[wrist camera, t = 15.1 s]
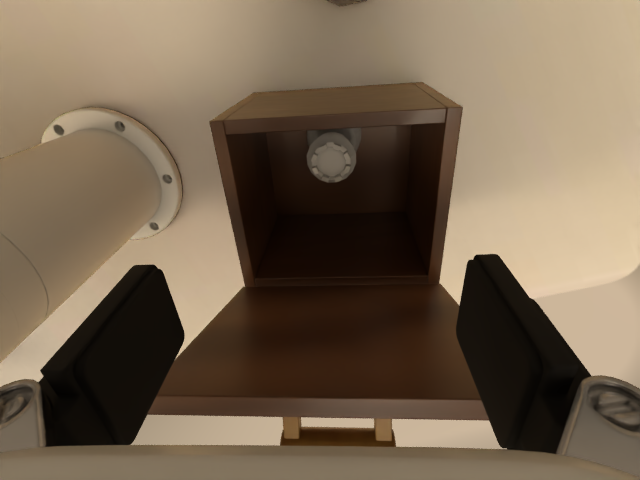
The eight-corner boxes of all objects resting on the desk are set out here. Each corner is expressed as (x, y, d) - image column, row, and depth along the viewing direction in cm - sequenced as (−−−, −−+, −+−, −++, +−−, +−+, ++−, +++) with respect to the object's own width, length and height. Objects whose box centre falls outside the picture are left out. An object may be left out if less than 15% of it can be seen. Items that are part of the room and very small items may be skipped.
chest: (252, 92, 28) (208, 121, 19) (422, 81, 27) (463, 106, 18) (271, 219, 34) (245, 287, 25) (412, 214, 33) (439, 285, 24)
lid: (141, 395, 12) (160, 526, 13) (540, 400, 11) (529, 542, 12) (243, 286, 25) (249, 359, 26) (440, 283, 23) (439, 360, 24)
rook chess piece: (354, 98, 27) (358, 119, 21) (366, 152, 30) (372, 188, 23) (300, 112, 28) (286, 138, 21) (315, 164, 30) (306, 202, 24)
